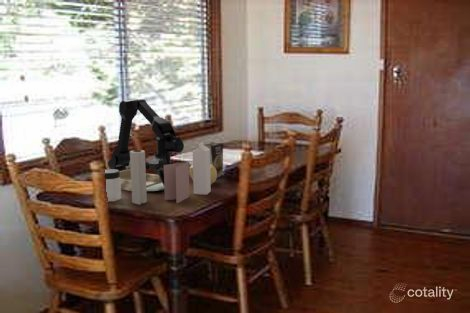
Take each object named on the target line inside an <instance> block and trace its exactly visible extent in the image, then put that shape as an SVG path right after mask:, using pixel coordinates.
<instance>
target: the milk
mask: <svg viewBox="0 0 470 313" xmlns="http://www.w3.org/2000/svg"><path fill="white" fill-rule="evenodd" d="M204 145H205V144H204V141H201V142H200V143H198V147H197V148H195V149H193V150H192V165H193V179H192V181H193V184H192V185H193V195H204V196H205V195H206V196H207V195H208V194H209V193H211V192H212V190H211V185H212V184H211V182H210V149H209V148H207V147H206V146H204Z"/></svg>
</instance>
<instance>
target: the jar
mask: <svg viewBox="0 0 470 313" xmlns="http://www.w3.org/2000/svg"><path fill="white" fill-rule="evenodd" d="M104 170H105V178H106V192H107V197H108V201H107V202H117V201H119V200H122V189H121V180H120V173H119V170H116V169H112V168H109V169H104Z"/></svg>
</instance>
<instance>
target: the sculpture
mask: <svg viewBox="0 0 470 313" xmlns="http://www.w3.org/2000/svg"><path fill="white" fill-rule="evenodd" d="M189 177H191V179H192V180H193V164H191V165H190V166H189ZM217 178H218V177H217V171H216V168H215V167H214V166H213V165H212V164H211V163H210V182H211V185H213V184H214V183H215V182H216V181H217Z"/></svg>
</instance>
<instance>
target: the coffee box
mask: <svg viewBox="0 0 470 313" xmlns="http://www.w3.org/2000/svg"><path fill="white" fill-rule="evenodd" d="M203 145H204V146H206V147H207V148H209V149H210V163H211V164H212V165H213V166H214V167H215V168H216V171H217V178H220V177H222V176H221V175H223V176H224V143H222V142H209V143H206V144H203Z"/></svg>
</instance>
